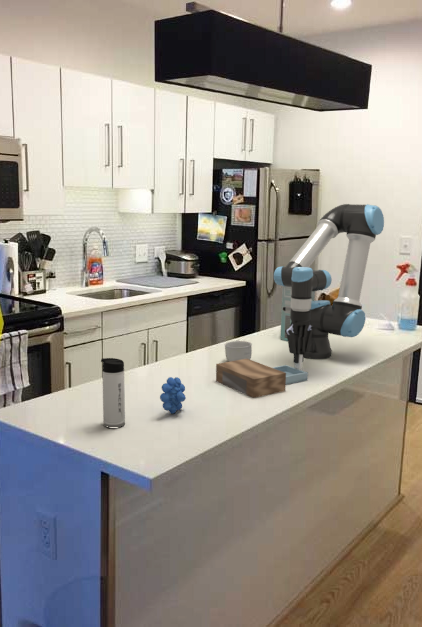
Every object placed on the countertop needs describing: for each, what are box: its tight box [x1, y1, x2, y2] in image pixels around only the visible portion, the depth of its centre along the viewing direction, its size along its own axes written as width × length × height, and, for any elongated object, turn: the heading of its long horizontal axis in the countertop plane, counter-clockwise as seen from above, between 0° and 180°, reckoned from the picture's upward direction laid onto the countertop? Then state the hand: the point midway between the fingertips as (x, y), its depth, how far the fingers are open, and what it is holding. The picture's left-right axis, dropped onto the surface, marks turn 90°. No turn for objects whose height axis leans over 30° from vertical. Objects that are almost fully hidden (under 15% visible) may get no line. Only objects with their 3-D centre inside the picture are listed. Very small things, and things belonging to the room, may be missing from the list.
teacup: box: [224, 339, 253, 362], centre depth 252 cm, size 14×11×8 cm
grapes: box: [159, 376, 187, 414], centre depth 191 cm, size 12×7×12 cm, turn 146°
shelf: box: [215, 359, 287, 399], centre depth 221 cm, size 14×22×6 cm, turn 35°
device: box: [279, 286, 316, 342], centre depth 291 cm, size 16×8×30 cm, turn 140°
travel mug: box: [100, 357, 126, 428], centre depth 181 cm, size 6×7×20 cm
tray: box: [271, 364, 309, 386], centre depth 228 cm, size 20×12×3 cm, turn 125°
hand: (298, 371), depth 234 cm, fingers closed
